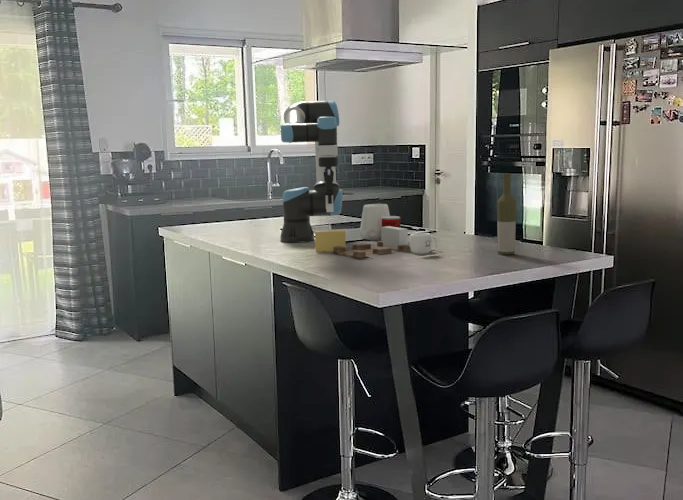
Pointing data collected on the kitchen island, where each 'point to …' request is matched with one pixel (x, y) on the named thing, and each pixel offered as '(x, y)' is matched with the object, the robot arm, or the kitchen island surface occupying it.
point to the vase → (373, 220)
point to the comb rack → (367, 250)
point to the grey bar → (394, 237)
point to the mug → (421, 243)
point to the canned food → (391, 221)
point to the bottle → (506, 219)
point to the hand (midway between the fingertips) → (329, 210)
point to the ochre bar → (329, 240)
